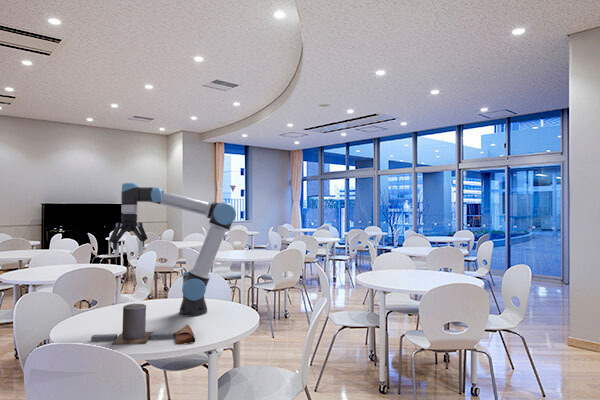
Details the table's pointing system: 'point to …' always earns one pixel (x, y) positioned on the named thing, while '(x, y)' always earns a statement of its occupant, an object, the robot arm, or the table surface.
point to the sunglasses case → (184, 335)
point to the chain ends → (113, 336)
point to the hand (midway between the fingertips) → (128, 254)
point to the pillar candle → (134, 321)
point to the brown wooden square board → (121, 341)
